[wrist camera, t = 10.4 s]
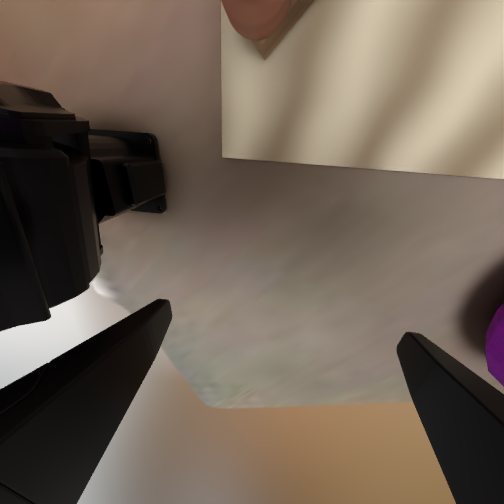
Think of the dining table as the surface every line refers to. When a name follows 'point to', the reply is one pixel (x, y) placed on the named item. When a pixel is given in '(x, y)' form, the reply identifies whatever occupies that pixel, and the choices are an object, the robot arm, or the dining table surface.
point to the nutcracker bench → (372, 88)
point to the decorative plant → (496, 345)
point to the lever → (264, 20)
